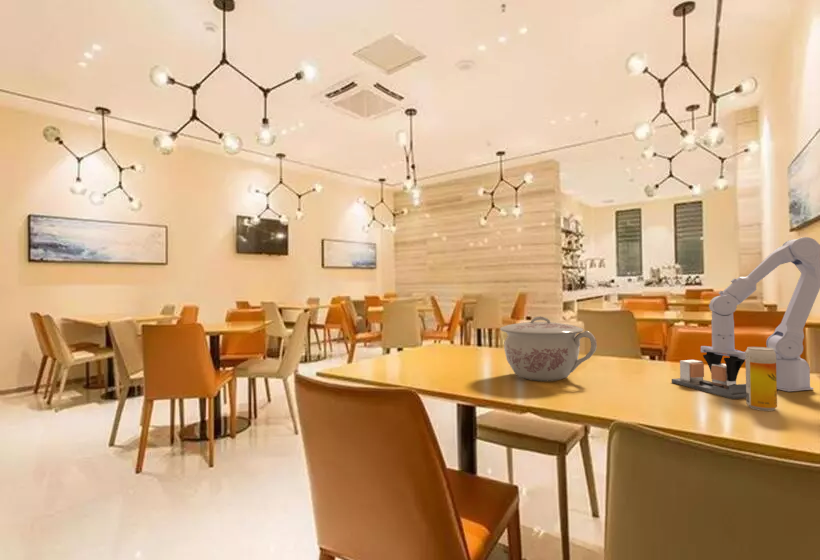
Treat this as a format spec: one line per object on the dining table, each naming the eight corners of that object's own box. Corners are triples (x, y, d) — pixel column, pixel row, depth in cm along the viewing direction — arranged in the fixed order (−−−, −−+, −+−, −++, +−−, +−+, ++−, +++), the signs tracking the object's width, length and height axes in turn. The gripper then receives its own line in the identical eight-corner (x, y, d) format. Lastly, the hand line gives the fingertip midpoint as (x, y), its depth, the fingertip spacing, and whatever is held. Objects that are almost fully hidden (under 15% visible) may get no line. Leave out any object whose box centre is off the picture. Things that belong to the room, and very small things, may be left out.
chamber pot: (486, 372, 162) (485, 315, 163) (552, 367, 171) (551, 312, 171) (529, 390, 136) (528, 321, 136) (604, 382, 144) (603, 317, 144)
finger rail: (671, 382, 142) (671, 359, 142) (692, 381, 144) (692, 358, 144) (733, 399, 121) (732, 372, 122) (757, 397, 123) (756, 370, 123)
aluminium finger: (721, 382, 141) (720, 363, 141) (736, 385, 137) (735, 366, 137) (710, 383, 140) (709, 364, 140) (724, 386, 136) (724, 366, 136)
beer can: (782, 412, 109) (781, 350, 109) (754, 411, 111) (753, 349, 111) (768, 405, 115) (767, 346, 115) (741, 404, 117) (740, 346, 117)
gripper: (692, 333, 145) (693, 375, 145) (734, 338, 131) (735, 385, 131) (710, 332, 146) (711, 373, 146) (753, 337, 132) (754, 383, 132)
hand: (723, 379), depth 139 cm, fingers closed on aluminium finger, 5 cm apart
